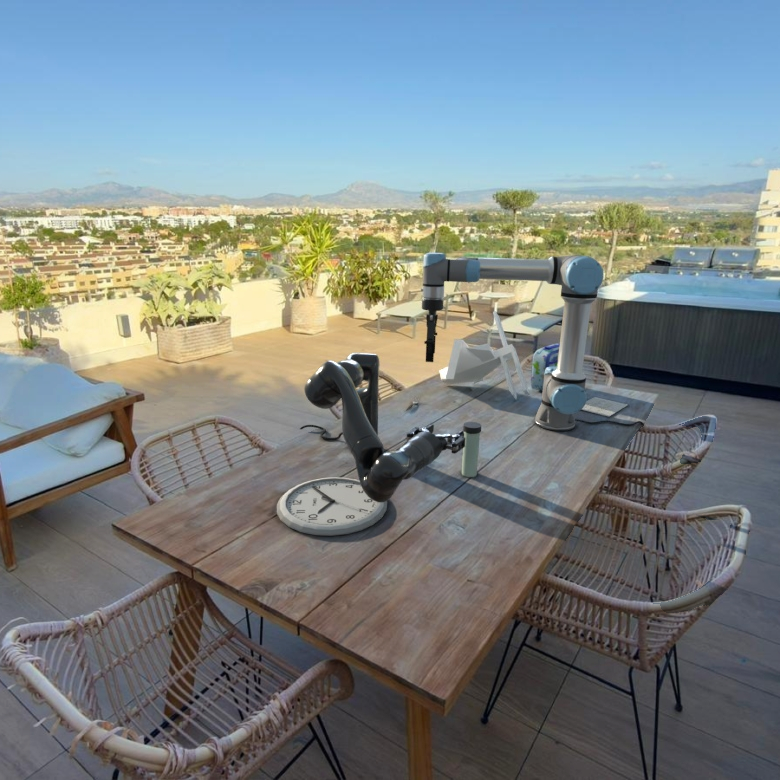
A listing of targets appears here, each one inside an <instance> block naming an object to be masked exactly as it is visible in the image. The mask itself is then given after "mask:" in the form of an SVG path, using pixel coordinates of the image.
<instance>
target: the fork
mask: <svg viewBox="0 0 780 780" xmlns="http://www.w3.org/2000/svg"><path fill="white" fill-rule="evenodd" d="M420 399H421V397H420V396H415V397H414V398H413V400H412V404H410V405H408V407H407V408H406V410H405V411H409V410H411V409H412V408H413V406H414V405H415V404H419V402H420Z"/></svg>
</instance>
